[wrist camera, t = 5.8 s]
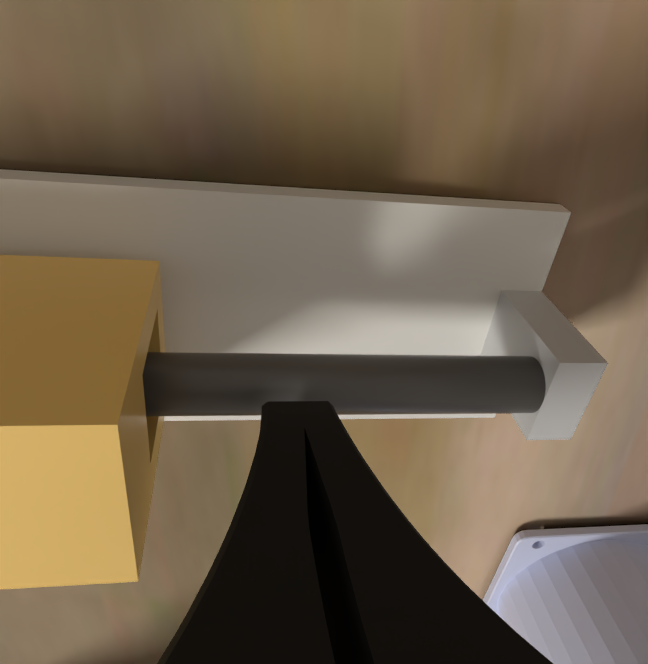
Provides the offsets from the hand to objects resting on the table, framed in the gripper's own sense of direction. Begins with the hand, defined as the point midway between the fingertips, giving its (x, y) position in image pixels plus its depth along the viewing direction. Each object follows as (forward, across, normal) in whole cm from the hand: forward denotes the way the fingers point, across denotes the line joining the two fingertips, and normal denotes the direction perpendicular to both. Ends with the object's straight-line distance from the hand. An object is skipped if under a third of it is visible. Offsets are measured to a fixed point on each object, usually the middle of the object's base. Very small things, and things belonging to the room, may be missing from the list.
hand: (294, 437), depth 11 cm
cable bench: (+5, +2, 0) cm, 5 cm away
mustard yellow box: (+4, +6, 0) cm, 7 cm away
